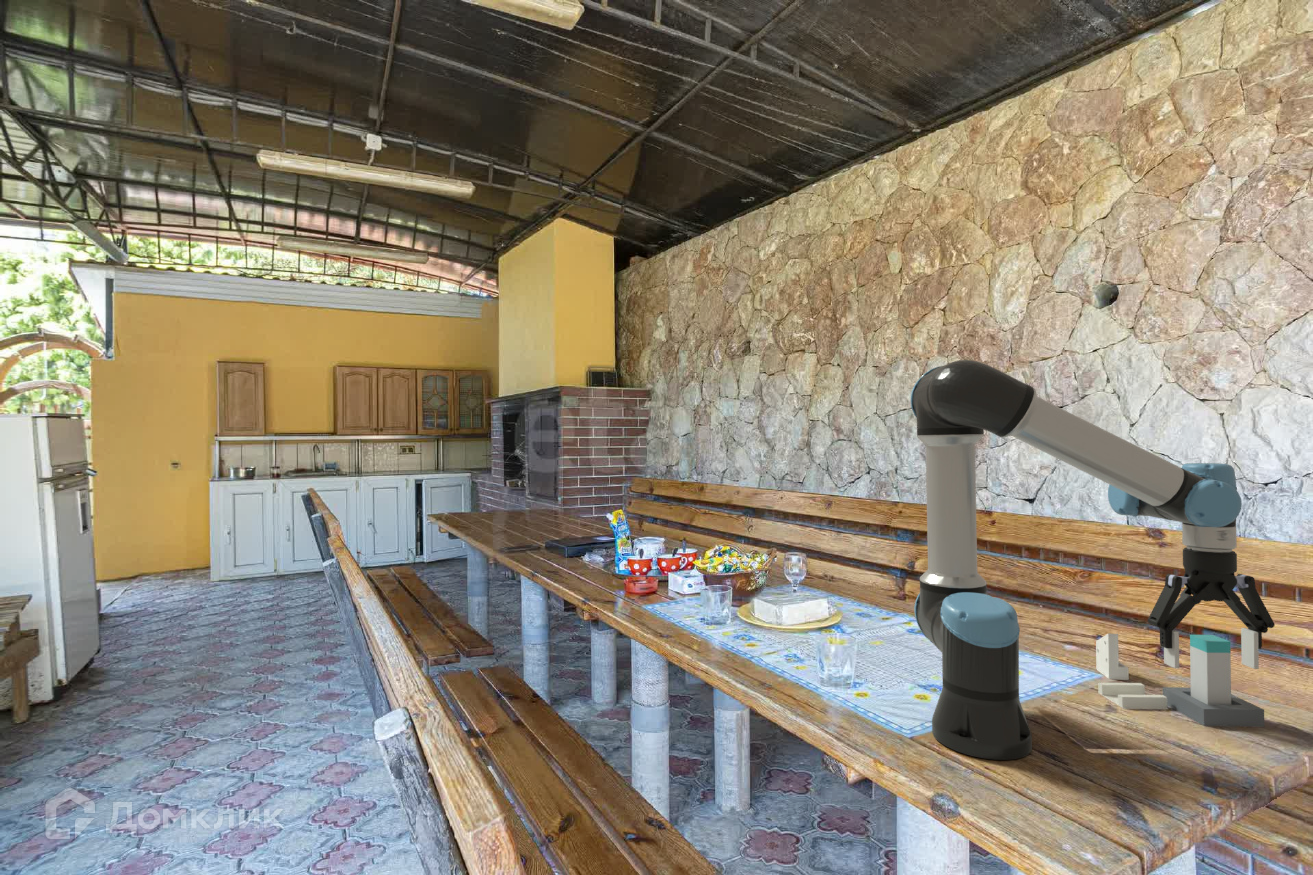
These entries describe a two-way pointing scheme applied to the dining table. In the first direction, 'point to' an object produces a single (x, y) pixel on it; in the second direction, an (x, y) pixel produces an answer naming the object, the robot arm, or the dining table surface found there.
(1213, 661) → the plug
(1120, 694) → the white low u-shaped block
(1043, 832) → the dining table surface
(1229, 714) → the block
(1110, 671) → the white l-shaped bracket
